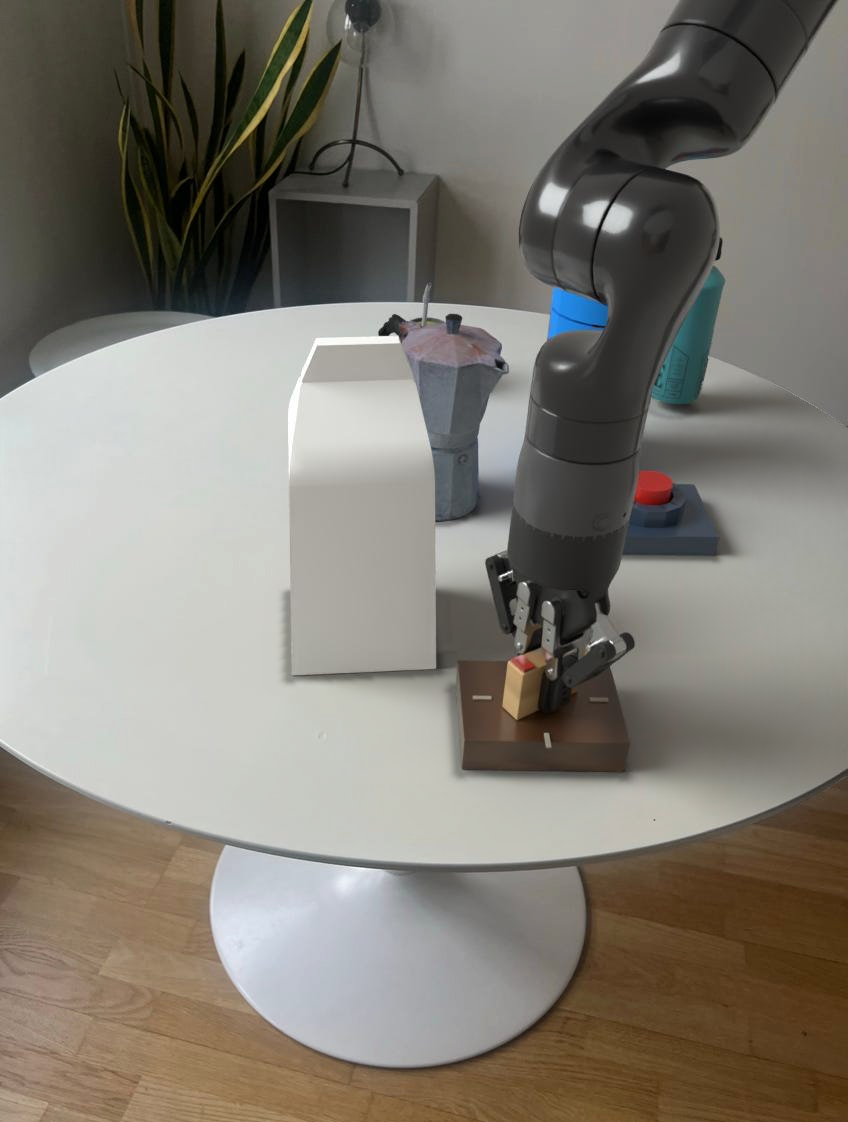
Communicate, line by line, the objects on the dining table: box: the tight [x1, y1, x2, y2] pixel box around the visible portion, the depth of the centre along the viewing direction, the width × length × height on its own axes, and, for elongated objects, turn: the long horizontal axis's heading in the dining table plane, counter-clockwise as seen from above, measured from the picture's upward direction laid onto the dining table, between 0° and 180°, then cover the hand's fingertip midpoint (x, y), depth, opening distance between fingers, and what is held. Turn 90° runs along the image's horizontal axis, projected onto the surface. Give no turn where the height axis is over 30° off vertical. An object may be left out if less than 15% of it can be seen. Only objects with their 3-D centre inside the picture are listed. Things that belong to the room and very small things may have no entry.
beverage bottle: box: [651, 236, 726, 405], centre depth 112 cm, size 6×7×20 cm
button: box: [634, 470, 674, 505], centre depth 94 cm, size 4×4×2 cm
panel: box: [455, 659, 632, 773], centre depth 74 cm, size 12×10×3 cm
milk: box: [287, 335, 437, 676], centre depth 76 cm, size 12×12×26 cm
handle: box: [502, 645, 587, 720], centre depth 71 cm, size 6×2×5 cm, turn 122°
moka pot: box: [377, 313, 510, 522], centre depth 95 cm, size 10×15×20 cm, turn 53°
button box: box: [622, 482, 720, 557], centre depth 96 cm, size 12×10×4 cm
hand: (540, 697), depth 73 cm, fingers closed on handle, 2 cm apart
